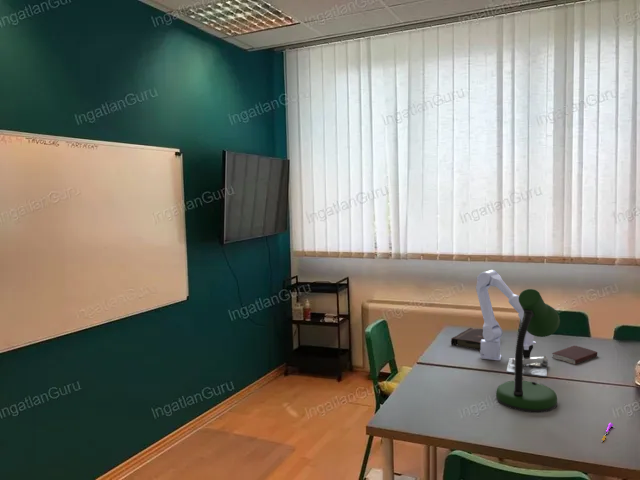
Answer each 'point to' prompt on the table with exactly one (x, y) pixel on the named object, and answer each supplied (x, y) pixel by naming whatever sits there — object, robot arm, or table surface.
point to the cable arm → (533, 360)
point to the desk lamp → (519, 392)
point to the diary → (469, 338)
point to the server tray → (529, 369)
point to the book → (574, 354)
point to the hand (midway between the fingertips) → (526, 359)
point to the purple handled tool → (607, 430)
